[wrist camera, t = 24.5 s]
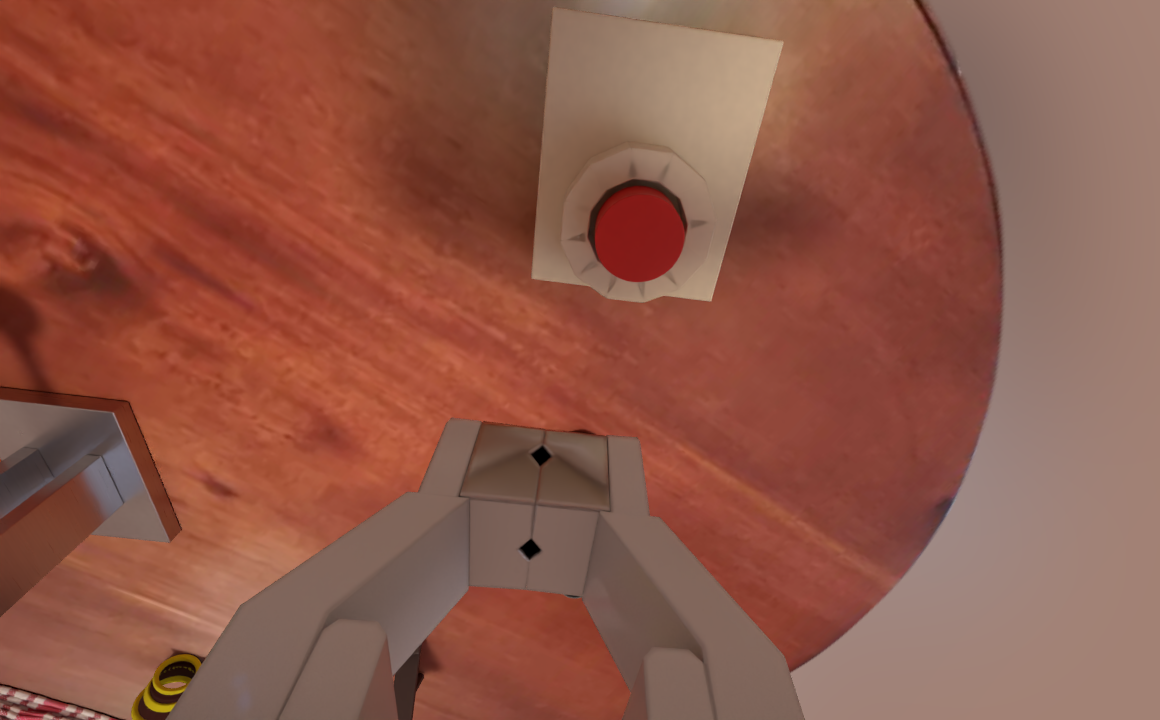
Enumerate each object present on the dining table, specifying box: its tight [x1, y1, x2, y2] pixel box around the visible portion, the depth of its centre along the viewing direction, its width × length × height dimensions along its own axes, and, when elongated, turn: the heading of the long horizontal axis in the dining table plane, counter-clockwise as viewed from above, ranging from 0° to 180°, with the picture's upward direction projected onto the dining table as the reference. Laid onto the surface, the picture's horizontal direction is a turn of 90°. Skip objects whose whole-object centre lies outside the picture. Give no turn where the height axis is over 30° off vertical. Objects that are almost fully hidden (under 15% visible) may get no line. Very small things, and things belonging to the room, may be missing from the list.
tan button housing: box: [531, 7, 783, 303], centre depth 22 cm, size 11×9×4 cm
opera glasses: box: [131, 654, 201, 720], centre depth 46 cm, size 10×5×5 cm, turn 52°
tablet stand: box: [394, 643, 424, 720], centre depth 42 cm, size 9×8×8 cm
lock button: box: [595, 186, 685, 282], centre depth 21 cm, size 4×4×2 cm
